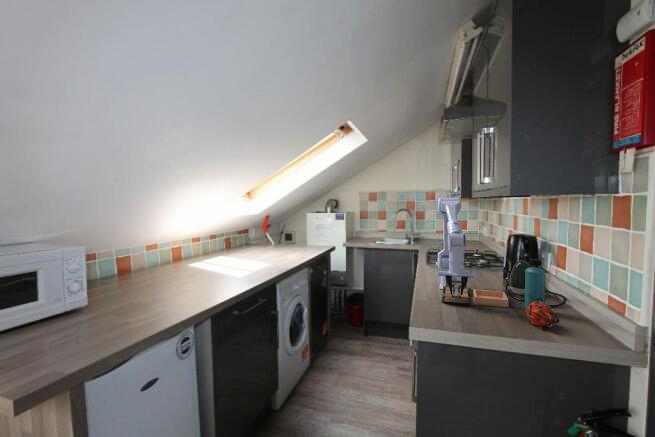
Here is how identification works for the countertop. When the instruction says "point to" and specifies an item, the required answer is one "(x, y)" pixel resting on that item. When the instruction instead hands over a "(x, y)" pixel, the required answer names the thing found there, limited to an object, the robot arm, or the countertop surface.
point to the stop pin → (456, 291)
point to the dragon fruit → (541, 315)
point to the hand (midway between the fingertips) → (456, 294)
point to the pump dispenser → (518, 277)
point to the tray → (490, 298)
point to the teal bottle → (534, 283)
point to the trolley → (464, 297)
